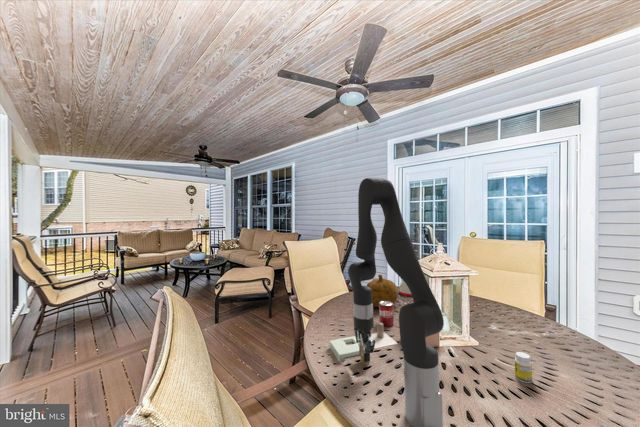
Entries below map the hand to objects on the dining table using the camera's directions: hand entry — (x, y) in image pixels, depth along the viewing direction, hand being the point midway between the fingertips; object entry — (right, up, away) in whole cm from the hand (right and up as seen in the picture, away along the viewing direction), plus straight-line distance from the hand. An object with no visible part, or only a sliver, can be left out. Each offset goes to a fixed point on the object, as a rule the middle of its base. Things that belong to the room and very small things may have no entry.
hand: (364, 358), depth 100 cm
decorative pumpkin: (+22, -2, +63) cm, 67 cm away
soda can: (+17, -2, +34) cm, 38 cm away
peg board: (-5, -3, +11) cm, 13 cm away
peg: (0, -3, 0) cm, 3 cm away
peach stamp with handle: (+27, -2, +15) cm, 31 cm away
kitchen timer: (+47, -1, +84) cm, 96 cm away
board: (+9, -3, +18) cm, 20 cm away
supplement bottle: (+53, -2, -10) cm, 54 cm away
